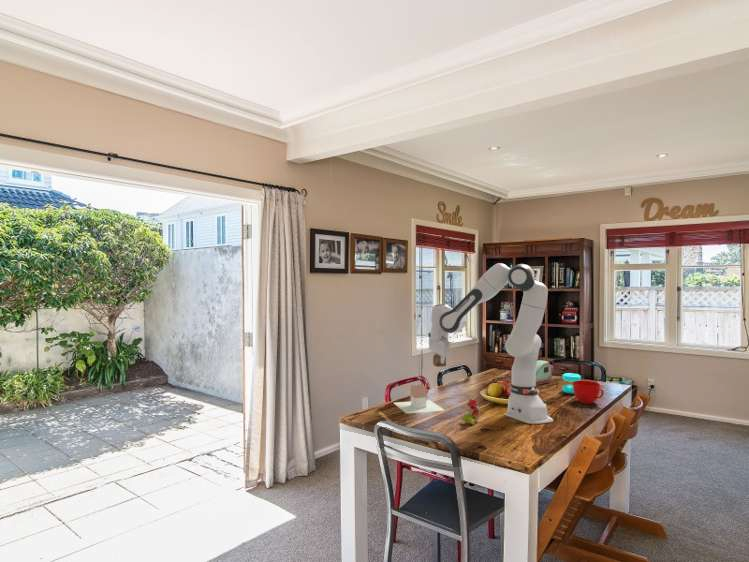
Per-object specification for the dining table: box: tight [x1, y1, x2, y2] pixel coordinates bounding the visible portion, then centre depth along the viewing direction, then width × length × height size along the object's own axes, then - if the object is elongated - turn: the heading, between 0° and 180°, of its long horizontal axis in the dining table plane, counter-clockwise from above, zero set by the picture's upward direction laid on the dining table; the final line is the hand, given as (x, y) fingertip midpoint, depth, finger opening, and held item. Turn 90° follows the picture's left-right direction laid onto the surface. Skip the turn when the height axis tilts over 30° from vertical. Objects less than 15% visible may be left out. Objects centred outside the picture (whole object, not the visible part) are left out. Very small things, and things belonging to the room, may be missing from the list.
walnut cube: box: [432, 354, 447, 368], centre depth 247 cm, size 5×5×5 cm
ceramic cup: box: [572, 380, 604, 405], centre depth 250 cm, size 13×17×10 cm
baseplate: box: [393, 399, 446, 415], centre depth 238 cm, size 20×20×1 cm
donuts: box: [561, 372, 582, 395], centre depth 274 cm, size 10×10×10 cm
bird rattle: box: [461, 398, 482, 426], centre depth 216 cm, size 6×11×9 cm
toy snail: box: [536, 359, 554, 386], centre depth 298 cm, size 25×8×14 cm, turn 127°
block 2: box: [410, 395, 427, 408], centre depth 238 cm, size 6×6×5 cm
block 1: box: [410, 384, 427, 399], centre depth 238 cm, size 6×6×5 cm
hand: (439, 362), depth 247 cm, fingers closed on walnut cube, 5 cm apart
